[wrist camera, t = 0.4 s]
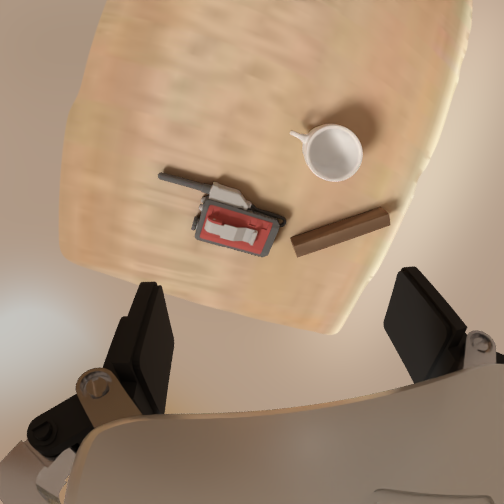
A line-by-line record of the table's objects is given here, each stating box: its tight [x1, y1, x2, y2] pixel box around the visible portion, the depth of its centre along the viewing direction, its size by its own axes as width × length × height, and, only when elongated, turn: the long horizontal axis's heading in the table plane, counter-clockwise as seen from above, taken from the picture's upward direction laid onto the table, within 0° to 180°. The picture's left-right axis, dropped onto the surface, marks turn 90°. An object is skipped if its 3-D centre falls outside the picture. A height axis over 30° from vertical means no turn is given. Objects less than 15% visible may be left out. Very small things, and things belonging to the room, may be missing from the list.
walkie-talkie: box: [158, 172, 286, 257], centre depth 43 cm, size 9×4×20 cm
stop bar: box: [291, 207, 390, 257], centre depth 46 cm, size 2×16×3 cm, turn 109°
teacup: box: [290, 124, 363, 182], centre depth 38 cm, size 10×8×5 cm
